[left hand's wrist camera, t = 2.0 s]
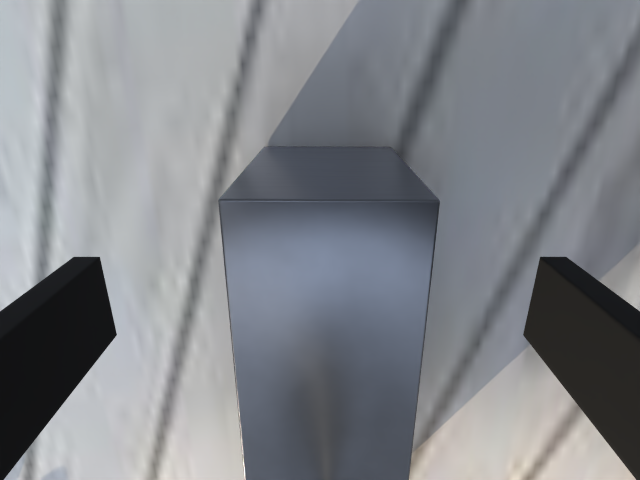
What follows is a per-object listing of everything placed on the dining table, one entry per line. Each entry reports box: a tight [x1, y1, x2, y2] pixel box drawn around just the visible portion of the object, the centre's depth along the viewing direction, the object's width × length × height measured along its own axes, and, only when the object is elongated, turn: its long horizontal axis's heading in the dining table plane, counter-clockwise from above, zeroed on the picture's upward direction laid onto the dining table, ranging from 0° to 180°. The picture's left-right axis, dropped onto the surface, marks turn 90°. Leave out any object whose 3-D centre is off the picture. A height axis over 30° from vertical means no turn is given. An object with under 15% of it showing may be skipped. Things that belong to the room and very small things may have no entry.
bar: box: [218, 147, 440, 480], centre depth 19 cm, size 23×6×9 cm, turn 0°
